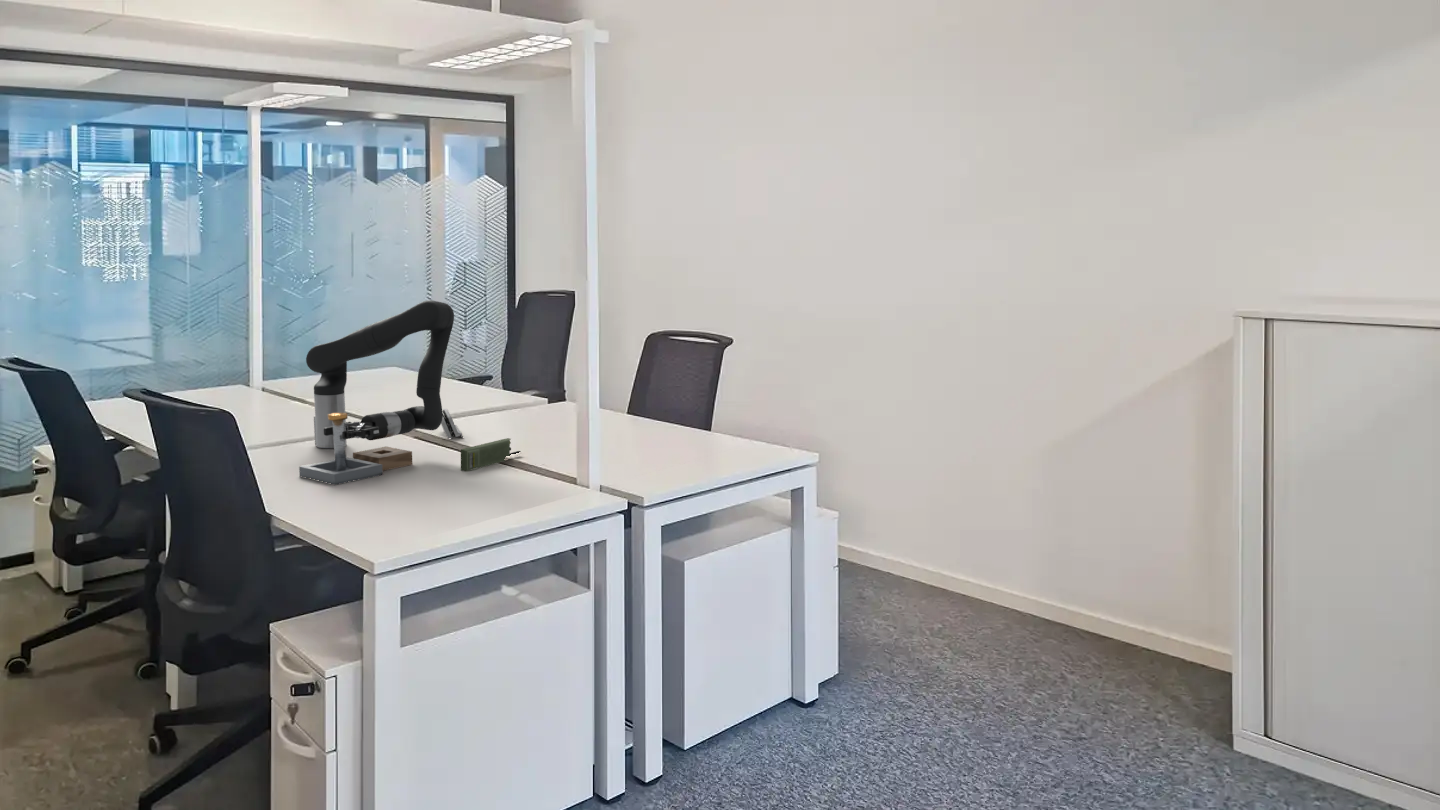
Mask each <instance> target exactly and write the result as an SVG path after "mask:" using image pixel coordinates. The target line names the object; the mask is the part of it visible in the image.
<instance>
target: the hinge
mask: <svg viewBox="0 0 1440 810" xmlns="http://www.w3.org/2000/svg"><path fill="white" fill-rule="evenodd" d="M442 412H443V418H442V422H441V425H440V426H441V427H442V429H443V432H444V431H445V432H444V434H445V433H446V434H445V435H446V437H447V439H448V438H452V439H453V438H454V437H456V438H457V437H461V438H462V437H464V435H463V433H462V432H461V430H460V428H459V427H458V425H457V424H455V422H454V420H453V418H452V415H451V412H450V411H449V409H448V408H442ZM460 435H461V436H460Z"/></svg>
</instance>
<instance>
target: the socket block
mask: <svg viewBox="0 0 1440 810" xmlns="http://www.w3.org/2000/svg"><path fill="white" fill-rule="evenodd" d="M352 458H353V459H358V460H363V461H368V462H373V463H377V464H382V472H384V471H388V470H389V471H390V470H393V469H398V468H402V467H406V466H407V467H408V466H413V451H410V450H405V449H403V448H402V449H401V448H396V447H391V446H382V447H381V446H380V447H375V448H371V449H367V450H366V449H365V450H361V451H355V452H352Z"/></svg>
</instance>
